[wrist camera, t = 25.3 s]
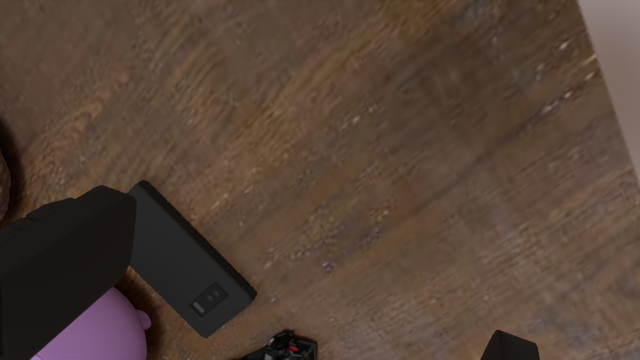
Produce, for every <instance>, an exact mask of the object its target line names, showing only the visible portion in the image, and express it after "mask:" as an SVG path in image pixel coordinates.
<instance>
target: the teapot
mask: <svg viewBox="0 0 640 360" xmlns="http://www.w3.org/2000/svg"><path fill="white" fill-rule="evenodd" d="M150 325H151V320H150V318H149V316H148V315H147V314H146V313H145V312H143V311H141V310H138V309H136V310H135V308H134V307H133V305H132V304H131V303H130V302H129V300H128V299H127V298H126V297H125V296H124V295H123V294H122V293H121V292H119V291H118V290H117V289H116V288H114V287H112V288H111V289H109V290H108V291H107V292H106V293H105V294H104V295H103V296H102V297H100V298H99V299H98V300H97V301H96V302H95V303H94V304H93V305H91V306H90V307H89V308H88V309H87V310H86V311H85V312H83V313H82V314H81V315H80V316H79V317H78V318H77V319H76V320H74V321H73V322H72V323H71V324H70V325H69V326H68V327H67V328H65V329H64V330H63V331H62V332H61V333H60V334H59V335H57V336H56V337H55V338H54V339H53V340H52V341H51V342H50V343H48V344H47V345H46V346H45V347H44V348H43V349H42V350H41V351H39V352H38V353H37V354H36V355H35V356H34V357H33V358H32V359H30V360H146V358H147V344H146V337H145V332H144V330H146V329H148V328H149V327H150Z"/></svg>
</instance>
